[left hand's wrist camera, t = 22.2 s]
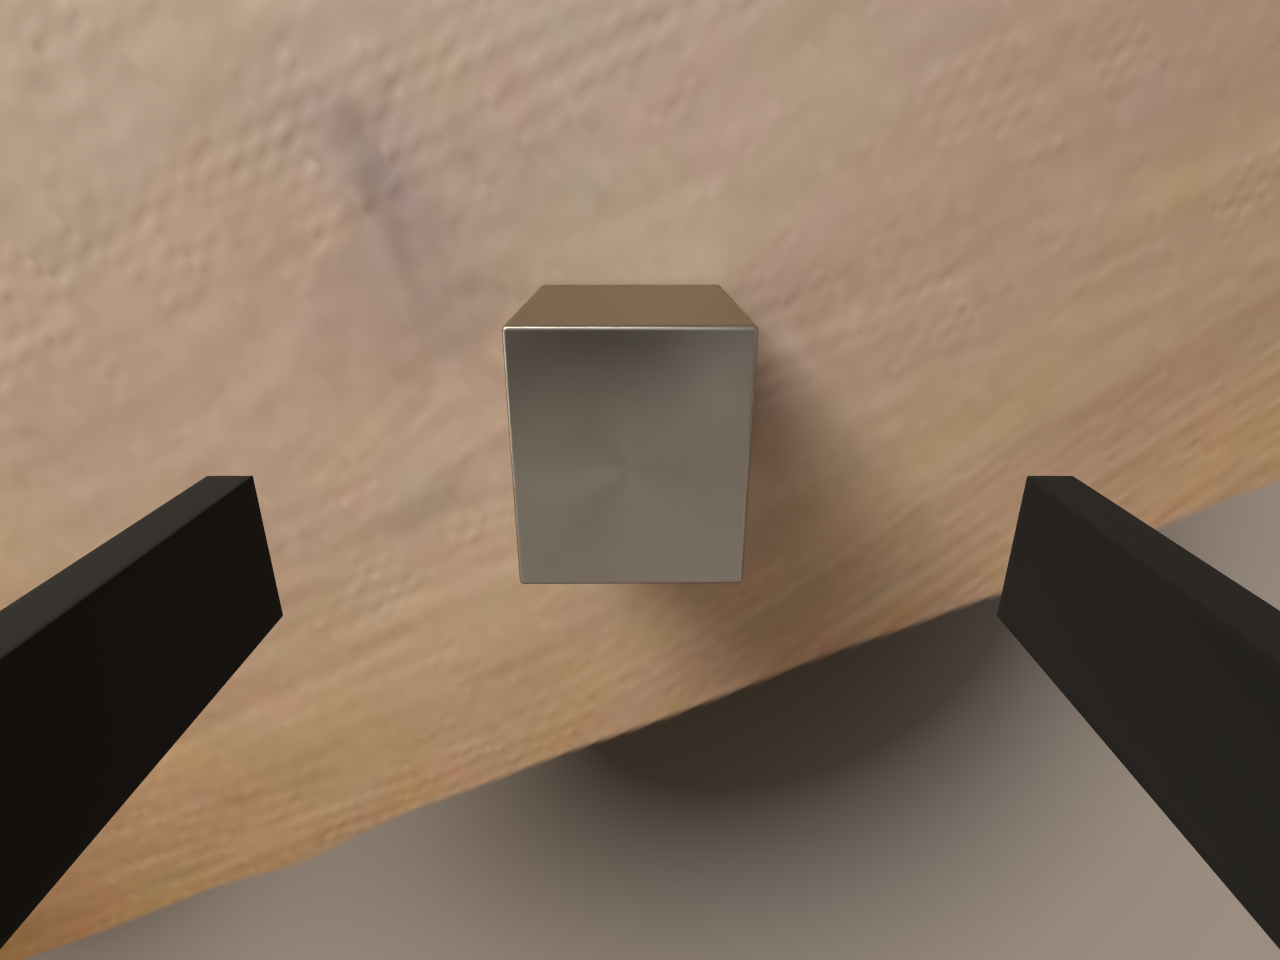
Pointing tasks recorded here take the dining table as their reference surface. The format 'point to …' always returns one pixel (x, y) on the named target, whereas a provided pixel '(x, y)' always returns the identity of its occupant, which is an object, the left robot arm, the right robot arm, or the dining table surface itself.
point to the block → (630, 433)
